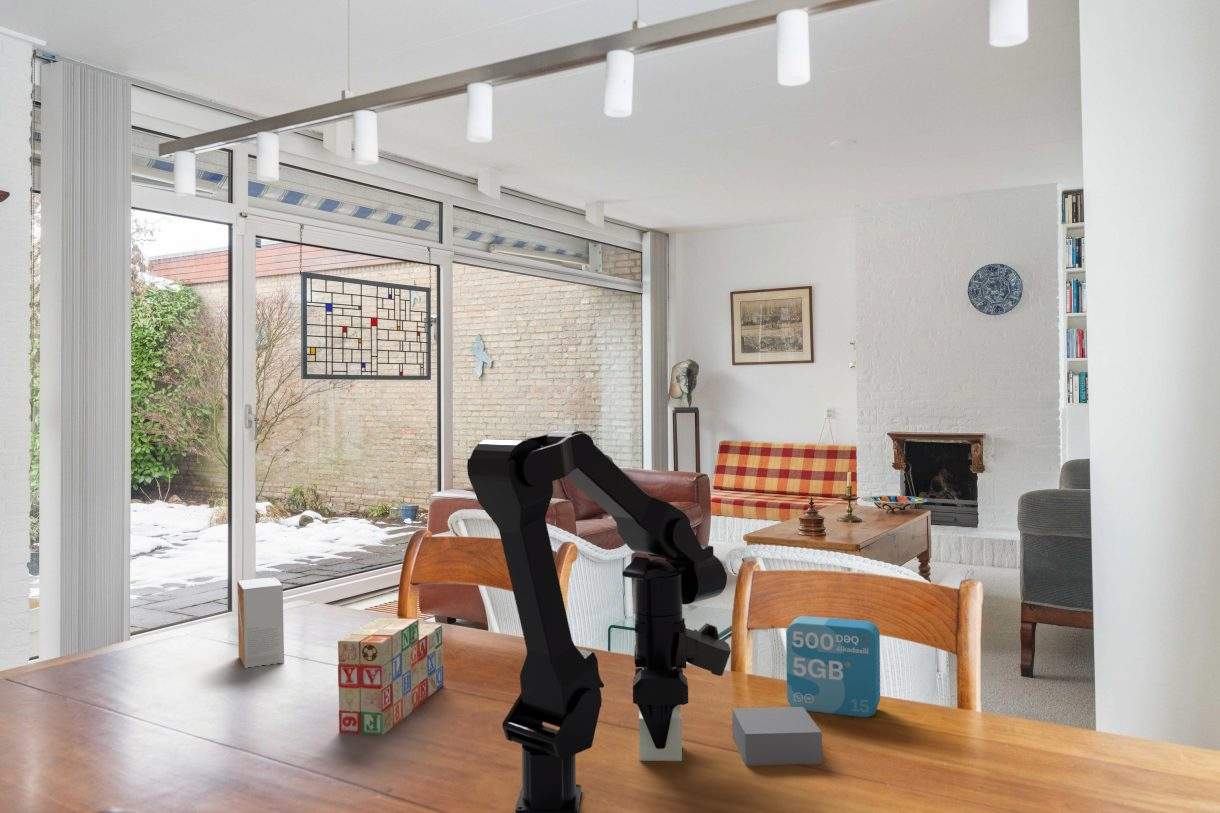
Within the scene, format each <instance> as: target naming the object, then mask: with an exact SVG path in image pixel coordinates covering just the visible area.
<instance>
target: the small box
mask: <svg viewBox="0 0 1220 813" xmlns="http://www.w3.org/2000/svg"><path fill="white" fill-rule="evenodd" d="M283 589H284V587H283V584H282V582H280V580H278V579H277V578H276V576H275V577H261V578H253V579H252V578H251V579H243V580H237V624H238V625H237V626H238V629H237V630H238V632H237V636H238V637H237V638H238V647H237V648H238V657H239V659H240V661H241V662H242V665H243V667H244V669H249V668H248V667H252V668H256V667H255V666H259V667H263V666H262V665H266V666H271V665H270V664H273V665H278V664H277V663H280V664H284V663H285V641H284V640H285V639H284V638H285V636H284V633H285V632H284V591H283ZM283 662H284V663H283Z"/></svg>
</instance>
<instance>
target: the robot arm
mask: <svg viewBox="0 0 1220 813" xmlns="http://www.w3.org/2000/svg"><path fill="white" fill-rule="evenodd" d="M466 468H467V469H466V470H467V476H468V480H469V481H470V482H469V483H470V484H471V487H472V489H473V492H474V494H475V496H476V498H477V502H478V504H479V505H480V506H481V507H482V509H483V510H484V512H485V513H486V514H487V515H488V517H490V519H491V520H492V522H493V523H494V524H495V525H496V527H497V529H498V532H499V535H500V541H501V544H502V549H503V554H504V557H505V562H506V566H507V571H508V575H509V579H510V583H511V587H512V591H513V596H514V600H515V605H516V609H517V612H518V617H519V623H520V626H521V630H522V634H523V639H524V640H523V641H524V644H525V647H526V656H525V657H524V658H525V659H524V661H523V663H522V667H521V671H520V672H519V673H520V674H519V680H520V693H519V695H518V697H517V698H516V700H515V702H514V704H513V705H512V707H511V708H510V710H509V711H508V713H507V715H506V717H505V718H504V719H503V721H502V724H501V725H502V726H501V727H502V729H503V733H504V735H505V739H506V740H507V741H509V742H514V743H517V744H519V745H521V775H522V776H521V783H522V785H521V789H520V792H519V796H518V799H517V802H516V805H515V810H514V811H515V813H579V808H580V803H581V802H580V801H581V796H582V788H583V787H582V784H578V783H577V767H576V766H577V765H576V764H577V762H576V759H577V756H576V755H577V754H578V753H579V754H580V753H582V752H584V751H586V750H589V749H591V748H592V746H593V742H594V737H595V733H596V728H597V725H598V722H599V721H598V720H599V716H600V715H599V714H600V712H601V708H602V702H603V701H602V700H603V699H602V690H601V689H603V688H605V684H604V682H603V681H602V679H601V676H600V671H599V662H598V661H599V660H598V658H597V656H596V653H595V652H594V651H590V650H589V651H588V650H585V649H582V648H581V649H580V648H578V647H577V646H576V644H575V643H574V640H573V637H572V633H571V629H570V624H569V620H568V616H567V610H566V607H565V601H564V597H563V593H562V588H561V584H560V578H559V574H558V570H557V569H558V568H557V566H556V565H557V564H556V562H555V561H556V560H555V557H554V553H553V552H554V551H553V547H552V543H551V539H550V538H551V537H550V534H549V529H548V525H547V520H546V517H547V513H548V510H549V507H550V504H551V501H552V499H553V495H554V483H553V482H554V481H557V480H560V479H564V478H568V479H569V480H570V482H572V483H573V484H574V485H575V486H576V487H578V488H579V489H580V490H581V491H582V493H584V494H586V496H588V497H589V498H590V499H591V500H592V501H594V503H596V504H597V505H598V506H599V507H600V508H602V509H603V511H605V512H606V513H607V514H608V515H609V516H610V517H611V518H612V519H613V520H614V521H615V523H616V524H615V525H616V532H617V533H618V536H620V538H621V539H622V540H623V542H624V543H625V544H626V545H627V547H628V548H629V549H630V550H631V551H632V552H634V553H637V554H638V553H639V554H644V555H646V556H647V557H643V556H642V557H641V556H634V557H633V559H632V561H630V564H628V565H627V566H626V567H625V568H624V569H623V571H622V577H624V578H627V579H628V578H630V579H634V612H635V613H634V617H635V618H634V633H635V639H634V640H635V641H634V642H635V644H634V665H635V669H634V676H633V679H632V704H635V705H637V707H638V709H639V710H640V712H641V714H642V717H643V719H644V721H645V724H646V726H647V728H648V730H649V733H650V735H651V738H652V740H653V742H654V745H655V747H656V748H657V749H664V748H665V746H666V741H667V737H668V732H669V727H670V722H671V717H672V713H673V709H674V708H675V707H676V706H677V705H680V706H682V705H683V706H684V705H687V704H689V682H688V677H686V675H684V671H683V670H684V669H687V663H688V664H689V665H692V666H695V667H697V668H699V669H700V668H701V669H703V670H706V671H709V672H711V674H712V675H715V676H718V677H722V676H723V674H724V672H725V669H726V666H727V664H728V661H729V658H730V655H731V652H732V650H731V647H730V644H729V643H728V642H727V641H726V640H725V639H723V638H722V639H720V637H719V630H718V627H717V626H715V625H713V624H711V623H708V622H707V623H705V624H704V625H702V627H700V629H698V630H697V629H695V628H694V629H690V628H687V627H686V626H687V625H686V624H685V621H686V619H685V617H683V605H690V604H694V603H697V602H701V601H705V600H708V599H712V598H716V597H718V596H720V595H721V594H722V593H723V592H724V590H725V589H726V586H727V581H728V574H727V572H726V569H725V566H724V565H723V563H722V561H721V560H720V559H719V558H718V557H717V556H716V555H715V554H714V546H713V545H706V544H701V543H700V541H699V540H698V538H697V535H696V533H695V532H694V529H693V527H692V526H691V521H690V519H689V516H688V515H687V513H686V512H685V511H684V510H682V509H681V508H678V507H677V506H675V505H674V504H672V503H671V502H668V501H666V500H663V499H660V498H658V497H655V496H652V495H651V494H649V493H647V492H645V491H644V490H643V489H642V488H641V487H640V486H639V485H638V484H637V483H636V482H635V481H634V480H633V479H632V478H630V477H629V476H628V475H627V473H626V472H624V471H623V470H622V469H621V468H620V467H619V466H618V465H617V464H616V463H615V462H614V461H612V460H611V459H610V458H609V457H608V456H607V455H606V454H605V453H604V452H603V451H602V450H601V449H600V448H599V447H598V446H597V445H596V444H595V443H594V439H592V437H591V435H590V434H587V433H586V432H584V431H582V430H553V431H550V432H547V433H545V434H540V435H537V436H532V437H531V436H530V437H526V438H525V437H524V438H520V439H519V438H486V439H483V440H482V441H480V442H479V443H477V445H476V446H475V447H474V449H473V451H472V452H471V455H470V457H468V459H467V464H466ZM648 557H651V558H658V559H651V560H650V558H648ZM639 710H638V711H639ZM543 723H545V724H548V725H552V726H555V727H557V728H559V729H555V728H553V727H549V726H547V725H544V724H543Z"/></svg>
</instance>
